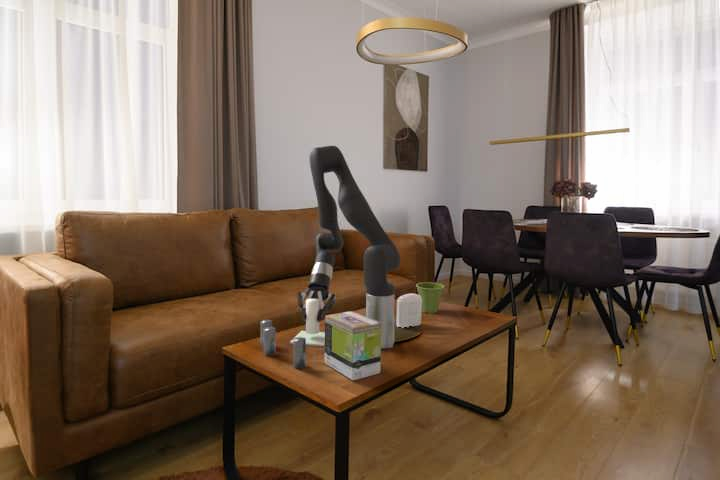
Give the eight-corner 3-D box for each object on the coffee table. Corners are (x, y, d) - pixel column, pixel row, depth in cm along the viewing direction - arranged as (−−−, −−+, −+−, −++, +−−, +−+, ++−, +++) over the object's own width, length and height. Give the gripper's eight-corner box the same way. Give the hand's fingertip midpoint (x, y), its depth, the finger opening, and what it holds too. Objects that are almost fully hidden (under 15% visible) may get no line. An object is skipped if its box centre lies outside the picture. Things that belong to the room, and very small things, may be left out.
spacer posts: (344, 349, 140) (344, 325, 139) (330, 371, 122) (331, 344, 121) (263, 342, 145) (263, 319, 144) (239, 363, 127) (238, 336, 126)
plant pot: (409, 310, 185) (410, 284, 184) (427, 306, 193) (427, 281, 192) (431, 317, 177) (432, 289, 175) (449, 311, 185) (450, 285, 183)
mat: (334, 334, 154) (334, 333, 154) (325, 346, 142) (325, 344, 142) (301, 332, 156) (301, 330, 156) (290, 343, 144) (290, 341, 144)
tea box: (381, 373, 122) (382, 321, 120) (352, 382, 116) (352, 328, 114) (351, 356, 134) (352, 309, 132) (323, 363, 128) (323, 314, 127)
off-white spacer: (320, 330, 151) (320, 298, 149) (317, 334, 146) (317, 302, 145) (308, 329, 151) (308, 298, 150) (304, 333, 147) (304, 301, 146)
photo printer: (415, 322, 169) (416, 291, 168) (422, 325, 166) (423, 293, 164) (394, 326, 164) (395, 294, 162) (401, 329, 160) (402, 296, 159)
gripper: (299, 271, 155) (287, 313, 145) (338, 273, 152) (329, 316, 142) (304, 282, 161) (293, 324, 150) (341, 284, 158) (333, 327, 148)
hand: (311, 320), depth 146 cm, fingers closed on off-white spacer, 4 cm apart
